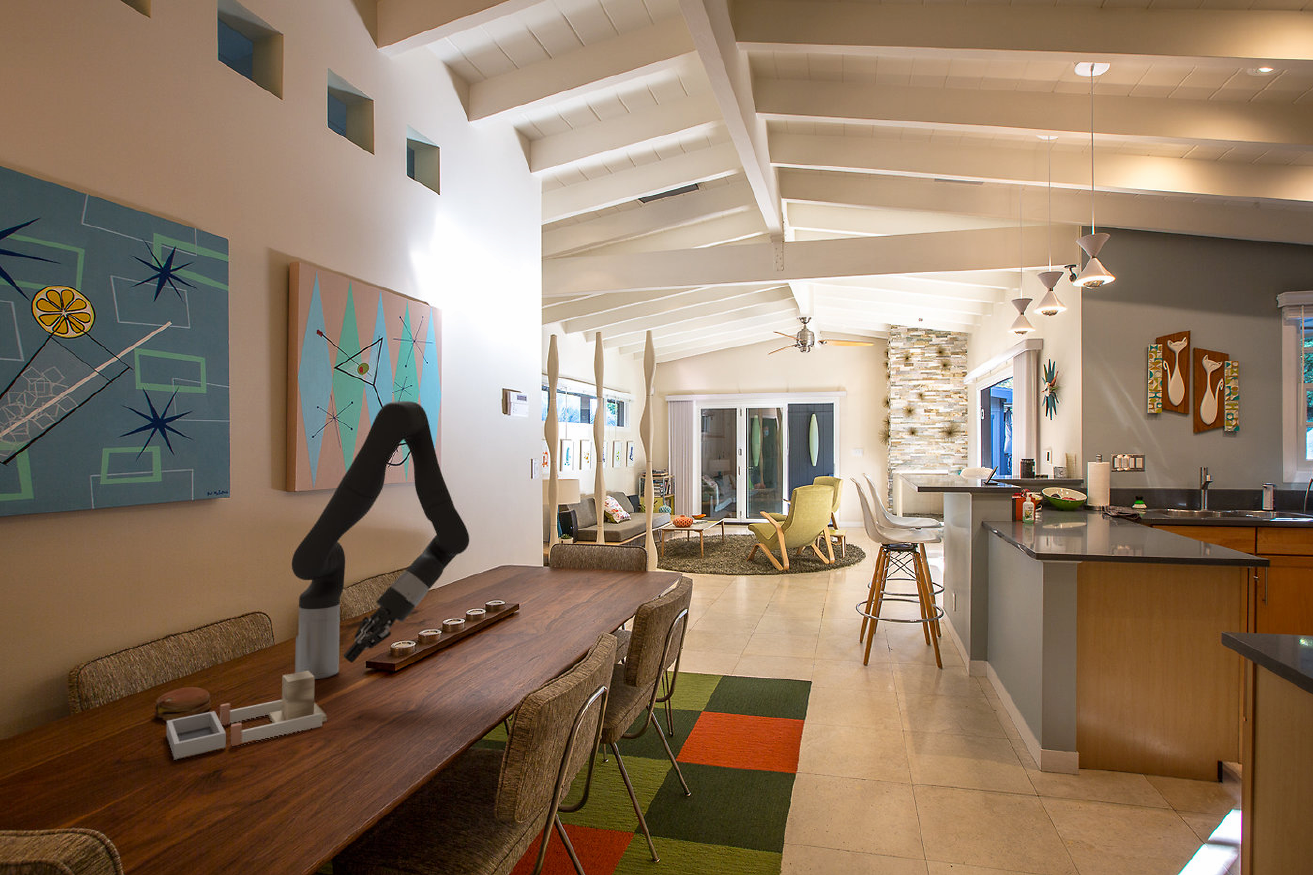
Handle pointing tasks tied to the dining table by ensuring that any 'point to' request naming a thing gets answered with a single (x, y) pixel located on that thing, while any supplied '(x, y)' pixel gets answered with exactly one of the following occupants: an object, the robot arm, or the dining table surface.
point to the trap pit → (195, 734)
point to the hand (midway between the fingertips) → (347, 659)
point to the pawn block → (297, 698)
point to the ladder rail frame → (266, 730)
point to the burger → (182, 703)
